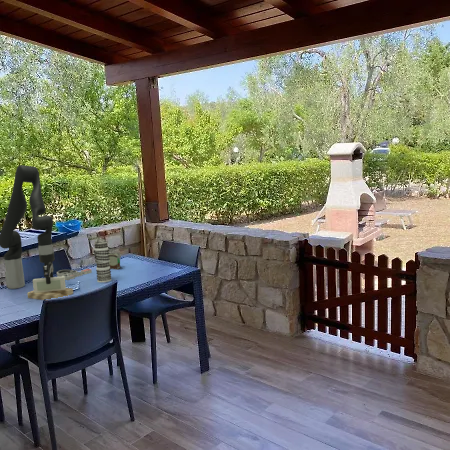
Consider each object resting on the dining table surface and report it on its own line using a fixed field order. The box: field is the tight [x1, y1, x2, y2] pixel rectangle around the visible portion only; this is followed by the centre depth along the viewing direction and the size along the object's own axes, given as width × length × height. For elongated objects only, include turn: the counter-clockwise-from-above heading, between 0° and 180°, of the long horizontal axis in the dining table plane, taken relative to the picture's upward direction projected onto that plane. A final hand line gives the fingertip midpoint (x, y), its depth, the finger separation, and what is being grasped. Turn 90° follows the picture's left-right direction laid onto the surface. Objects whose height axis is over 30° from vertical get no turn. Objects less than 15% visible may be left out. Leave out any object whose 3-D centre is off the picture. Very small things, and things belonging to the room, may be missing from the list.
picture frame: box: [32, 276, 67, 293], centre depth 247 cm, size 16×4×7 cm, turn 101°
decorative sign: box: [56, 268, 92, 281], centre depth 290 cm, size 22×2×20 cm
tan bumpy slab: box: [27, 287, 74, 301], centre depth 248 cm, size 20×13×3 cm, turn 66°
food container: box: [108, 252, 122, 271], centre depth 302 cm, size 12×6×10 cm, turn 58°
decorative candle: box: [93, 238, 112, 283], centre depth 271 cm, size 9×9×25 cm
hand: (50, 281), depth 247 cm, fingers open, 8 cm apart
